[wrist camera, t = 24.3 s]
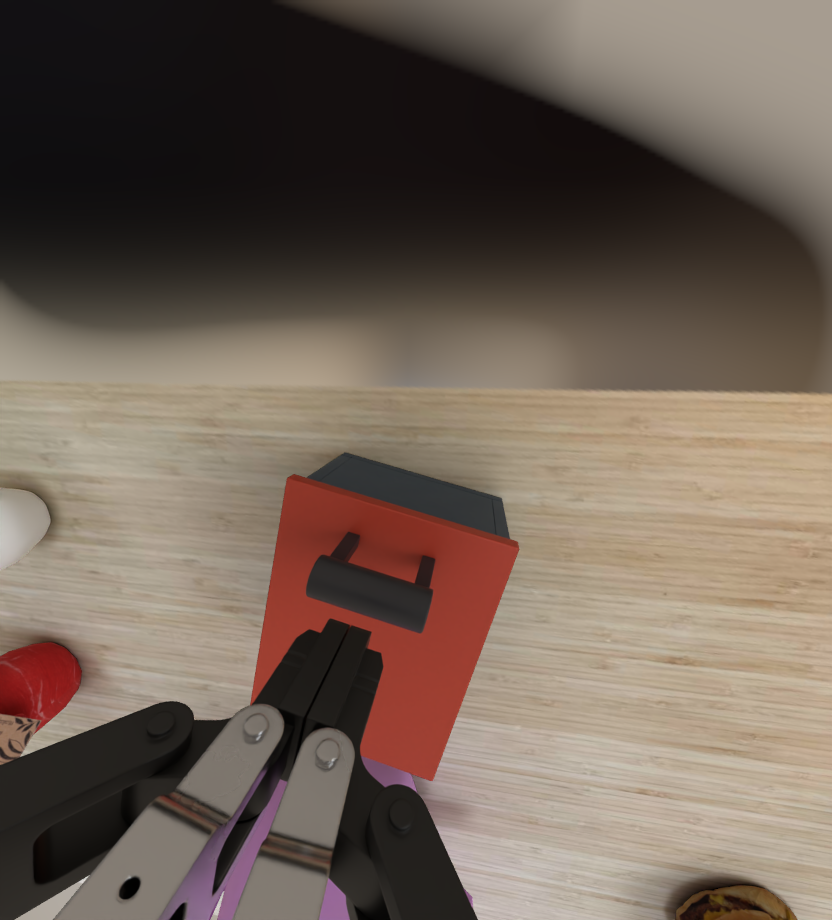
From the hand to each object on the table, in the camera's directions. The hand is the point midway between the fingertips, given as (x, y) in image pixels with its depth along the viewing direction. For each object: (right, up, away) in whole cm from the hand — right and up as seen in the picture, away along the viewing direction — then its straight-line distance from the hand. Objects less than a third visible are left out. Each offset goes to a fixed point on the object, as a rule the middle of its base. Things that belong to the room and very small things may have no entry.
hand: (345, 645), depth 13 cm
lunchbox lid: (0, -4, +9) cm, 10 cm away
